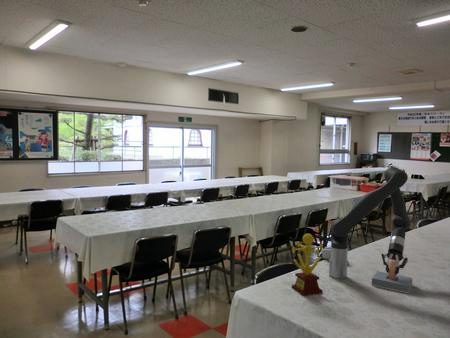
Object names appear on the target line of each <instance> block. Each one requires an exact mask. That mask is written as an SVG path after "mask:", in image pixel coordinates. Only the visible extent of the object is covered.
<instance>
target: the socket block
mask: <svg viewBox="0 0 450 338" xmlns="http://www.w3.org/2000/svg"><path fill="white" fill-rule="evenodd" d="M371 286H373V287H378V288H382V289H386V290H391V291H396V292H401V293H405V294H410V291H411V290H412V289H411V288H412V287H413V277H410V276H403V275H399V274H396V280H391V279H388V273H387V272H383V271H380V270H379V271H376V273H374V275H373V276H372V278H371Z"/></svg>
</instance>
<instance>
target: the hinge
mask: <svg viewBox="0 0 450 338" xmlns="http://www.w3.org/2000/svg"><path fill="white" fill-rule="evenodd" d="M321 251H322V252H321V259H324V260H328V259H329V260H328V261H330V259H331V246H327V247H326V246H325V247H324V248H323V249H322V250H321ZM347 263H349V260H348V259H347Z"/></svg>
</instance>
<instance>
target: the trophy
mask: <svg viewBox="0 0 450 338" xmlns="http://www.w3.org/2000/svg"><path fill="white" fill-rule="evenodd" d="M314 239H315V238H314V236H313V235H312V234H311V233H305V234H304V235H303V236H302V242H303V244H304V245H303V244H301V242H300V241H297V243H296V244H297V245H296V246H297V248H296V247H295V246H292V247H291V250H292V253H294V254H295V253H296V251H302V252H303V253H304V255H305V263H304V260H303V258H302V255H301V253H299V254H297V257H298V258H299V261H300V263H298V261H297V259H293V262H294V263H295V264H296V265H297V266H298V268H299V269H300V270H301V271H302V272H297V273H294V274H295V275H294V276H295V277H296V280H295V284H292V285H291V288H292V289H293V290H294V291H295V292H297V293H298V294H300V295H301V296H303V297H307V296H313V295H319V294H323V289H322V288H320V287H319V283H318V280H320V276H318V275H316V274H315V273H314V272H313V270H315V269H316V267H317V265H318V264H319V262H320V260H321V259H322V256H320V251H322V250H323V249H324V248H323V247H324V244H322V243H321V244H319V246H311V245H312V244H313V243H314V241H315V240H314ZM311 253H315V256H317V259H316V260H315V262H314V263H313V264H312V265H311V266H310V255H311ZM318 256H319V257H318ZM300 264H301V265H300Z"/></svg>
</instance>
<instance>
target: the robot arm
mask: <svg viewBox="0 0 450 338" xmlns="http://www.w3.org/2000/svg"><path fill="white" fill-rule="evenodd" d="M384 179H385V182H386V183H384V184H383V186H381V187H379V188H376V189H373V190H371V191H368V192H366V193H365V194H363V195H362V196H361V198H359V199H358V200H357V201H356V202H355V204H354V205H353V206H352V208H351V209H350V211H349V212H348V213H347V214H346V215H345V216H344V217H342V218H337V219H334V220H333V221H332V223H331V224H330V225H331V226H330V247H331V259H330V260H329V268H328V273H329V274H328V275H329V277H331V278H334V279H338V280H339V279H340V280H344V279H347V276H348V262H347V260H348V254H349V253H348V251H349V243H348V234H349V233H350V232H351V231H352V230H353V228H354V227H355V226H356V225H357V224H359V222H360V221H362V220H363V219H364V218H365V217H367V216H368V215H369V214H370V213H372V212H373V211H374V210H375V209H376V208H377V207H378V206H380V204H381V203H383V202H384V201H385V200H386V199H387V198H388V197H390V200H391V201H390V202H391V207H392V214H393V215H394V216H392V217H391V220H390V225H391V236H390V239H389V245H388V249H387V252H386V253H385V254H384V253H381V259H382V262H383V265H384V266H385V273H388V271H389V260H396V261H397V267H396V271H395V274H396V275H399V273H400V269H404V268H405V266H406V265H407V263H408V262H409V259H408V257H404V249H405V240H406V231H405V230H408V229H410V228H411V226H412V221H411V219H410V218H411V217H409V215H408V212H407V207H406V206H407V205H406V201H405V198H404V196H403V194H402V192H401V188H402V187H403V186H404V185H405V184H406V182H408V179H409V176H408V174H407V173H406V172H405V171H403V170H402V169H400V168H398V167H397V166H396V167H395V166H390V167H388V168H387V169H386V170H385V172H384ZM386 259H387V261H386ZM401 261H402V262H401ZM400 262H401V263H400Z"/></svg>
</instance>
